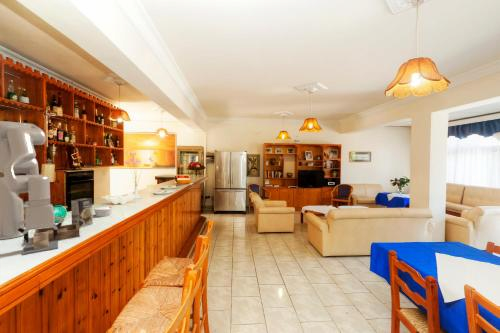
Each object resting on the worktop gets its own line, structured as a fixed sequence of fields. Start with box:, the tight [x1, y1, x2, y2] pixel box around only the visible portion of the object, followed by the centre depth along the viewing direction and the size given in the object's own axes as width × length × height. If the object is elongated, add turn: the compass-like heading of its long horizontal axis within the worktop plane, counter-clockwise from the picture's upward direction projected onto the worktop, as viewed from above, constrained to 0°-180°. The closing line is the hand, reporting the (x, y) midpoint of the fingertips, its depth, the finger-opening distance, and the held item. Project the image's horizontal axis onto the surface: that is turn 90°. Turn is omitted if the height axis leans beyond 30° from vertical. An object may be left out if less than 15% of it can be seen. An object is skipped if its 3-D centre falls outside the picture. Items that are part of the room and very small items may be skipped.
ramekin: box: [93, 206, 113, 218], centre depth 177 cm, size 11×11×5 cm
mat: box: [22, 240, 59, 256], centre depth 115 cm, size 12×12×1 cm
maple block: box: [33, 232, 49, 249], centre depth 114 cm, size 5×5×6 cm
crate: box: [34, 223, 81, 242], centre depth 130 cm, size 18×14×4 cm
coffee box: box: [71, 197, 94, 229], centre depth 150 cm, size 9×6×16 cm
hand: (41, 239), depth 114 cm, fingers open, 9 cm apart
